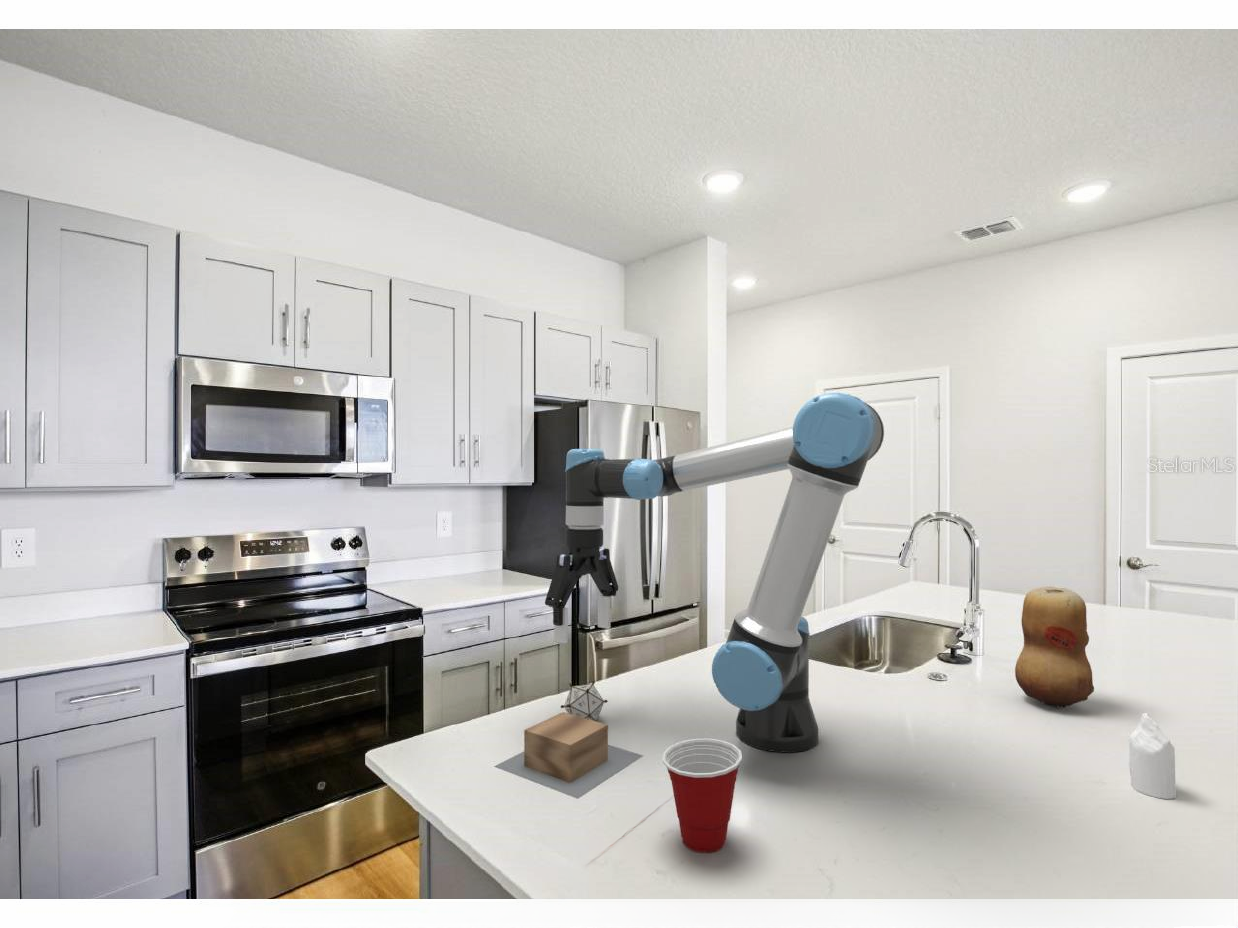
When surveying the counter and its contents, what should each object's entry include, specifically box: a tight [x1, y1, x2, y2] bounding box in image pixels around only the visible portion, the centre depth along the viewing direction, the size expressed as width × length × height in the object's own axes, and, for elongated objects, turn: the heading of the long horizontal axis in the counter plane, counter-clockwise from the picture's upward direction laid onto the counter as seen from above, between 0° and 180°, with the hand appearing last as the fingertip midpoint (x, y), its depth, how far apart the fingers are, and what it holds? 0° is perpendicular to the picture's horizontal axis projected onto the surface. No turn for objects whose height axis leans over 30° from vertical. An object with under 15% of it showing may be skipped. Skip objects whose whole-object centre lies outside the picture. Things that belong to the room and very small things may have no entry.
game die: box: [559, 680, 609, 722], centre depth 128 cm, size 9×8×10 cm
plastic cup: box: [661, 737, 743, 854], centre depth 88 cm, size 11×11×12 cm
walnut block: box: [523, 711, 609, 783], centre depth 110 cm, size 10×10×6 cm
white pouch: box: [1128, 712, 1177, 800], centre depth 103 cm, size 6×12×6 cm
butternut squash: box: [1014, 586, 1095, 709], centre depth 139 cm, size 14×13×25 cm
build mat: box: [494, 744, 644, 799], centre depth 111 cm, size 18×18×1 cm
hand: (583, 634), depth 128 cm, fingers open, 13 cm apart
